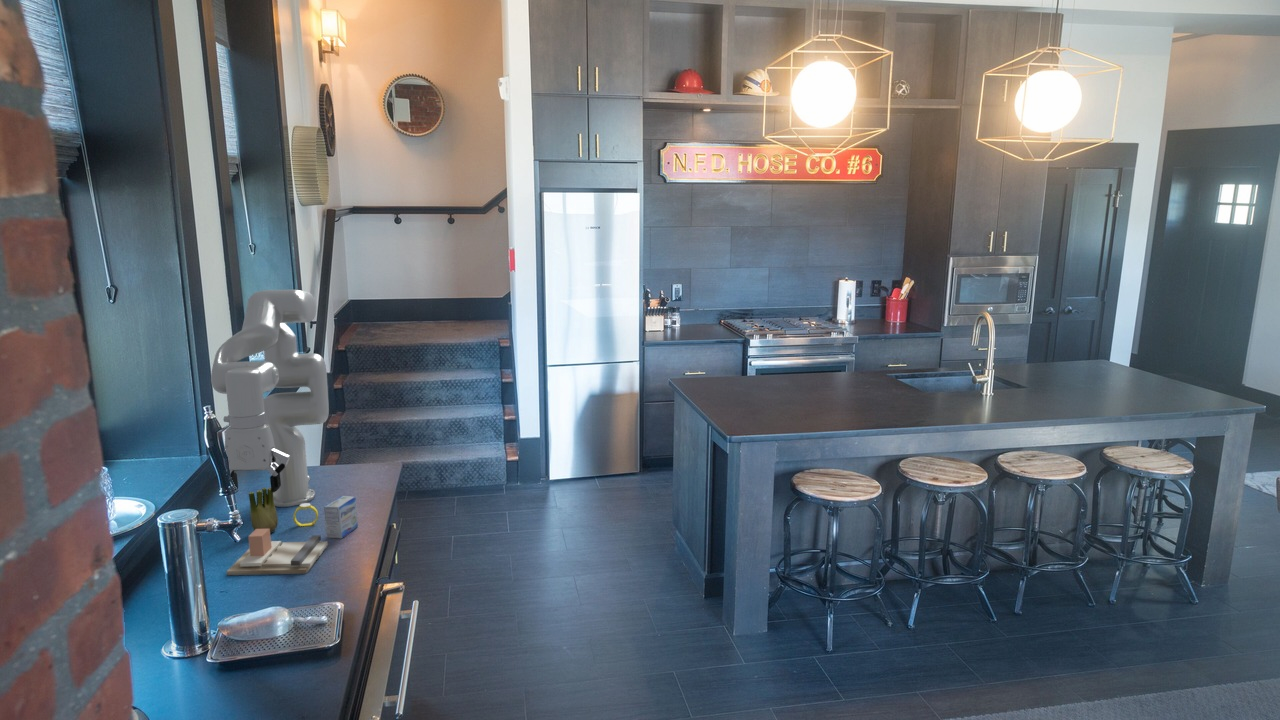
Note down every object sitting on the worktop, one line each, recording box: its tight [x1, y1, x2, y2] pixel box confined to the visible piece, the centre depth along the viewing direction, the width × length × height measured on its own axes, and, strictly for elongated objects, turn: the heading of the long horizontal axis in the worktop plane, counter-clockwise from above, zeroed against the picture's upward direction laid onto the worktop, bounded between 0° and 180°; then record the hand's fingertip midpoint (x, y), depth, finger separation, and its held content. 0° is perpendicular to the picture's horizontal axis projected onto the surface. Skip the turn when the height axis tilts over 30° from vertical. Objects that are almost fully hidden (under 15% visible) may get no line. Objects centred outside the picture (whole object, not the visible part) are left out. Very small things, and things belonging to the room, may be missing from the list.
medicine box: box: [323, 495, 359, 539], centre depth 204 cm, size 8×4×9 cm, turn 168°
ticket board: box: [226, 535, 329, 576], centre depth 189 cm, size 15×18×3 cm
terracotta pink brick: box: [240, 529, 282, 567], centre depth 188 cm, size 12×5×6 cm, turn 3°
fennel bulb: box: [248, 487, 279, 534], centre depth 204 cm, size 6×5×12 cm
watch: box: [292, 502, 319, 528], centre depth 209 cm, size 6×3×6 cm, turn 108°
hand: (254, 490), depth 186 cm, fingers open, 9 cm apart
